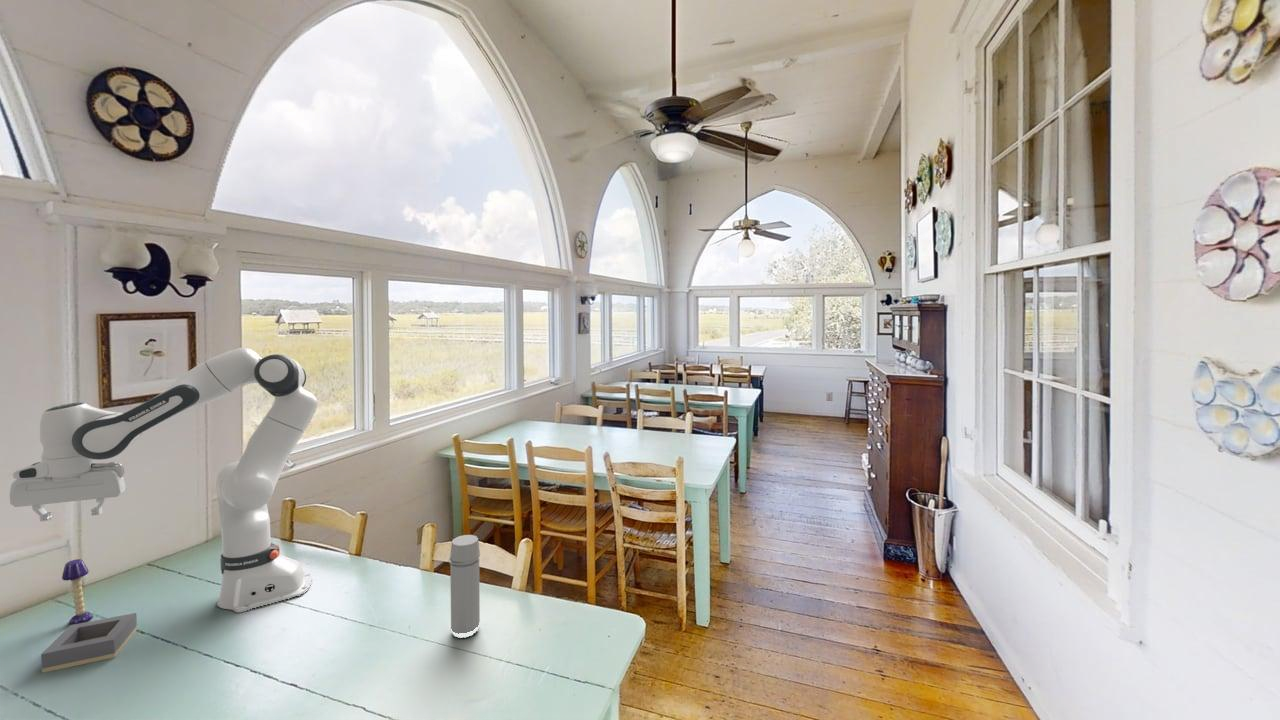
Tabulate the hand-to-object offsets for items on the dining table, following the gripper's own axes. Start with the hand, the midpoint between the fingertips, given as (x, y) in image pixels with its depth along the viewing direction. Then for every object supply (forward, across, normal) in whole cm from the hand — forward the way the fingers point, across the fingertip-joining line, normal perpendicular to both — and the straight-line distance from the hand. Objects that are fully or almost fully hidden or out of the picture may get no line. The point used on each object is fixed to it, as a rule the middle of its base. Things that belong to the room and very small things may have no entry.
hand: (71, 517), depth 129 cm
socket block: (+29, -9, +17) cm, 34 cm away
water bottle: (+29, -91, +48) cm, 107 cm away
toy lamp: (+29, 0, 0) cm, 29 cm away
